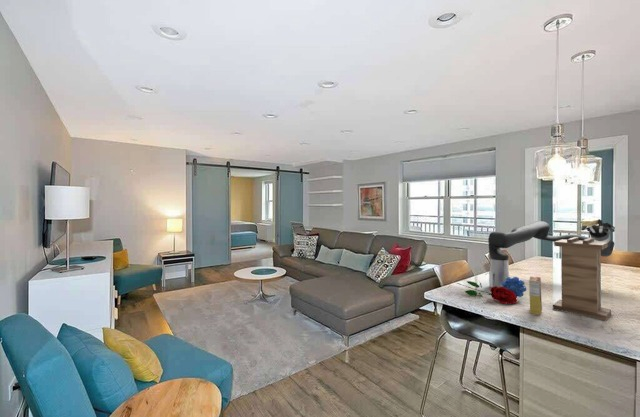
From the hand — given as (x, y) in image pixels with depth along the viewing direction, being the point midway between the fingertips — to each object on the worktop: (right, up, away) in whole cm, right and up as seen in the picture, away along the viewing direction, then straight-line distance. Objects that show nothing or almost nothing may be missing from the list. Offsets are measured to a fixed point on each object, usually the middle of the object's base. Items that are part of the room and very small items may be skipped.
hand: (594, 220), depth 149 cm
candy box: (-44, -42, -17) cm, 63 cm away
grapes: (-42, -41, +1) cm, 59 cm away
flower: (-57, -42, +3) cm, 70 cm away
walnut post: (-24, -41, -18) cm, 51 cm away
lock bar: (-6, -2, -5) cm, 8 cm away
